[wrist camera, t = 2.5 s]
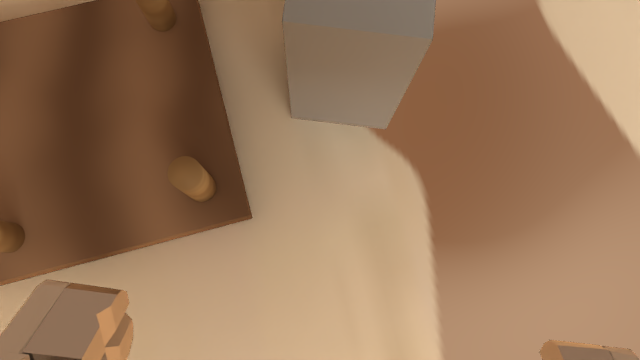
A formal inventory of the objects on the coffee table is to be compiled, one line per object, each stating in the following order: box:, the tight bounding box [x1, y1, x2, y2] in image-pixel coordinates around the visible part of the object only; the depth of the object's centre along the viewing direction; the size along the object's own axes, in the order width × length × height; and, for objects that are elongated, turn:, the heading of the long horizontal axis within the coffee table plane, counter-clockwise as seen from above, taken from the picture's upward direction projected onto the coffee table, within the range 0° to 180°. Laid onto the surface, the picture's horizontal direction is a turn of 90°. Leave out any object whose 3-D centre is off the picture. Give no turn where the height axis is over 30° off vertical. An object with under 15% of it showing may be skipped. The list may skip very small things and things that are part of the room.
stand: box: [0, 0, 252, 286], centre depth 23 cm, size 13×13×5 cm
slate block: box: [282, 0, 436, 129], centre depth 22 cm, size 5×5×10 cm
